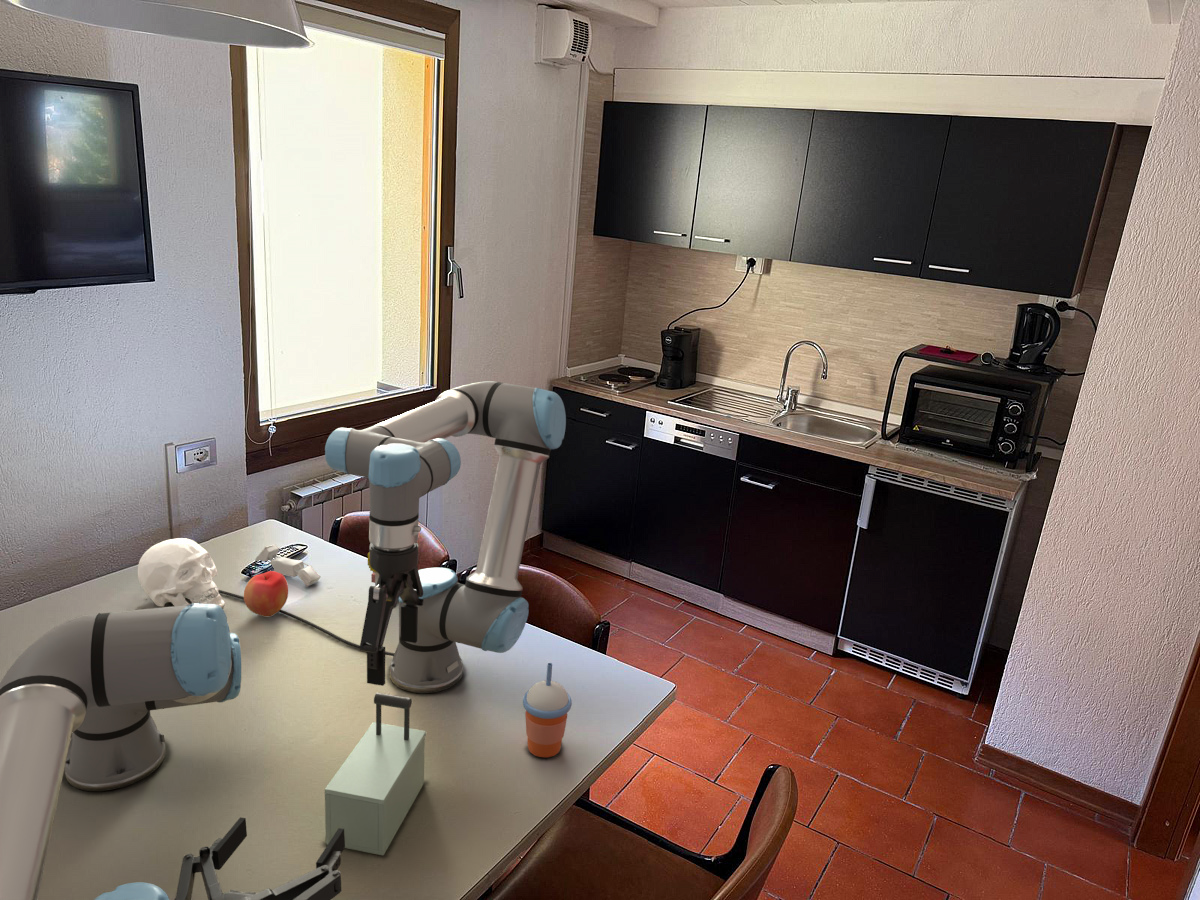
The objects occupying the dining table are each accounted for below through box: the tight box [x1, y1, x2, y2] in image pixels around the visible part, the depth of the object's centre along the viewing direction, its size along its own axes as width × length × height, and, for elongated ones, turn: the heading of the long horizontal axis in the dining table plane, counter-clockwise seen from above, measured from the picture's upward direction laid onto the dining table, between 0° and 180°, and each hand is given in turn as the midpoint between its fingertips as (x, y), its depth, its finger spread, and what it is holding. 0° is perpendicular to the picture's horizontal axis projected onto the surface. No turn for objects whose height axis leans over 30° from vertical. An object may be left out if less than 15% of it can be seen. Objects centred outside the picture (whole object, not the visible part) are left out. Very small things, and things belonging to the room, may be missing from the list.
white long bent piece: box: [254, 544, 322, 587], centre depth 219 cm, size 20×4×7 cm, turn 62°
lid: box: [324, 692, 427, 804], centre depth 138 cm, size 18×10×9 cm, turn 170°
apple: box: [243, 570, 289, 618], centre depth 199 cm, size 10×10×10 cm
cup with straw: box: [522, 662, 573, 758], centre depth 159 cm, size 9×9×18 cm
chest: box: [324, 736, 426, 856], centre depth 141 cm, size 17×10×10 cm, turn 170°
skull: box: [137, 537, 226, 609], centre depth 200 cm, size 13×22×16 cm, turn 73°
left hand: (292, 831), depth 112 cm, fingers open, 13 cm apart
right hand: (393, 661), depth 141 cm, fingers open, 13 cm apart
